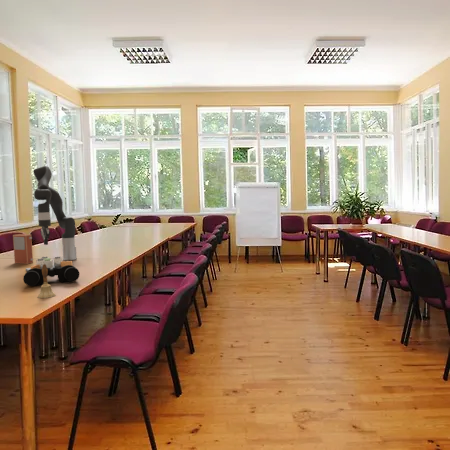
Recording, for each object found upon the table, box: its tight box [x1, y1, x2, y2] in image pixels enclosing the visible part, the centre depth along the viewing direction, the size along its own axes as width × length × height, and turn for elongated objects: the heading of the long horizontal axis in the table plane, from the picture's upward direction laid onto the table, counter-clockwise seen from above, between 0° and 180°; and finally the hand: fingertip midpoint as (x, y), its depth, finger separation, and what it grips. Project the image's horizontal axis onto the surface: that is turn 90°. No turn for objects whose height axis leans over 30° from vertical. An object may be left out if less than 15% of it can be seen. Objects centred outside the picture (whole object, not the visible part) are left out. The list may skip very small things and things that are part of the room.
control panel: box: [12, 233, 34, 265], centre depth 304 cm, size 21×7×15 cm
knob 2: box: [53, 256, 74, 267], centre depth 274 cm, size 12×5×7 cm, turn 89°
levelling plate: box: [25, 256, 54, 272], centre depth 273 cm, size 24×17×8 cm
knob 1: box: [29, 258, 45, 269], centre depth 264 cm, size 12×5×7 cm, turn 171°
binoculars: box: [22, 264, 80, 287], centre depth 232 cm, size 29×20×10 cm
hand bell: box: [37, 264, 56, 299], centre depth 200 cm, size 8×8×16 cm
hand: (46, 244), depth 273 cm, fingers closed
